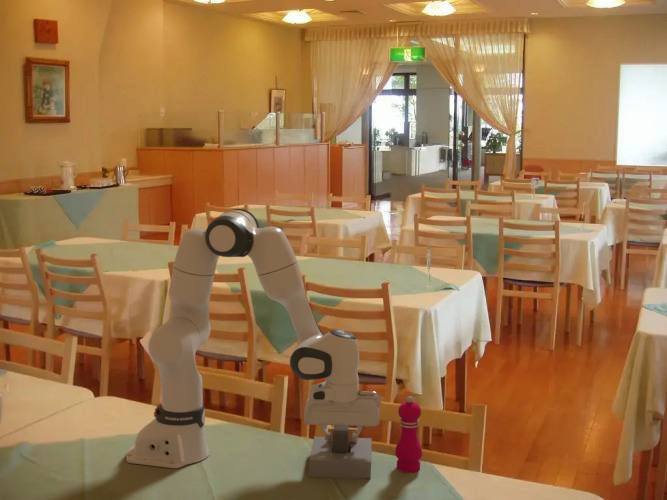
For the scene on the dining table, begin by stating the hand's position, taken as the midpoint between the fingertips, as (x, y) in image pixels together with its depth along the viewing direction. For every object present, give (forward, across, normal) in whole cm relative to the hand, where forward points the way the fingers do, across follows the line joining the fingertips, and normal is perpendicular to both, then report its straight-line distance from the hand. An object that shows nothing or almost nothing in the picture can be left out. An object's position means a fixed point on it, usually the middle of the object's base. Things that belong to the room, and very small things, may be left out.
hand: (341, 440), depth 218 cm
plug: (+7, 0, 0) cm, 7 cm away
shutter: (+2, 0, -8) cm, 8 cm away
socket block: (+7, 0, 0) cm, 7 cm away
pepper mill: (+7, -18, 0) cm, 19 cm away
